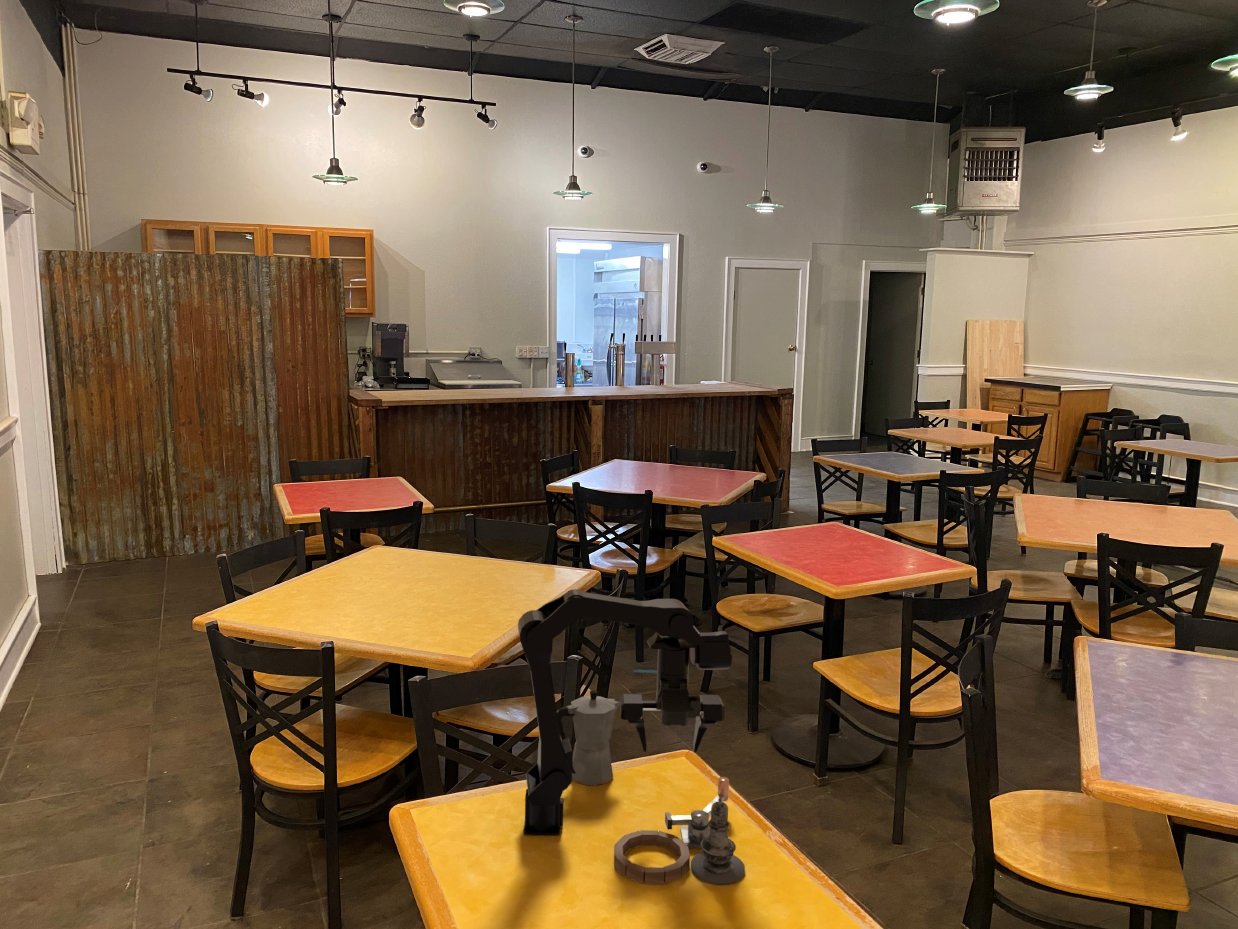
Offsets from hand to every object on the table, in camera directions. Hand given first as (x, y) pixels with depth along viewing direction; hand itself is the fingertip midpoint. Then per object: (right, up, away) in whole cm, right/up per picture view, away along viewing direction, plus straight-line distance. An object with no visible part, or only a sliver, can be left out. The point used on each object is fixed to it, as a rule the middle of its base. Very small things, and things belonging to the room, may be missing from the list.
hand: (669, 751), depth 159 cm
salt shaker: (+7, -15, -14) cm, 22 cm away
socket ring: (-4, -15, -12) cm, 20 cm away
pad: (+7, -15, -14) cm, 22 cm away
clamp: (+5, -11, -2) cm, 12 cm away
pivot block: (+5, -14, -5) cm, 16 cm away
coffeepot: (-16, -11, +17) cm, 26 cm away
